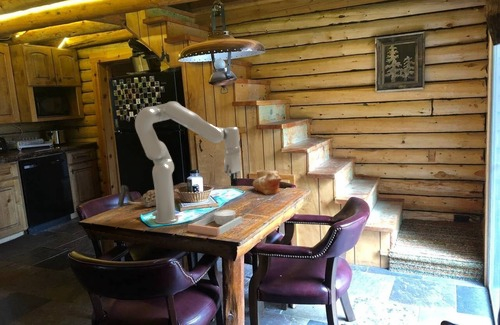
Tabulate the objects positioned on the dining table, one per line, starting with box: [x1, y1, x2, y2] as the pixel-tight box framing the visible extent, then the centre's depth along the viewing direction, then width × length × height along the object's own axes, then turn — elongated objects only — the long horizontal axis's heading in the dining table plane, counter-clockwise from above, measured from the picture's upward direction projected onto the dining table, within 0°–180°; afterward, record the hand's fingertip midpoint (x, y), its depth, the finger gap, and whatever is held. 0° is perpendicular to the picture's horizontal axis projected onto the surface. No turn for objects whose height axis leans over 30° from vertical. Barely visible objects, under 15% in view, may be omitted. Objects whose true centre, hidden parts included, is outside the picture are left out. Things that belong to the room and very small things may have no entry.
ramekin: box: [213, 209, 236, 226], centre depth 203 cm, size 11×11×5 cm
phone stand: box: [117, 184, 135, 208], centre depth 248 cm, size 9×6×12 cm, turn 123°
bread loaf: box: [252, 169, 283, 196], centre depth 267 cm, size 14×26×15 cm, turn 29°
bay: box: [187, 213, 243, 237], centre depth 196 cm, size 17×22×4 cm
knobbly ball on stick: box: [126, 189, 156, 208], centre depth 238 cm, size 22×10×10 cm, turn 130°
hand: (234, 185), depth 210 cm, fingers closed
